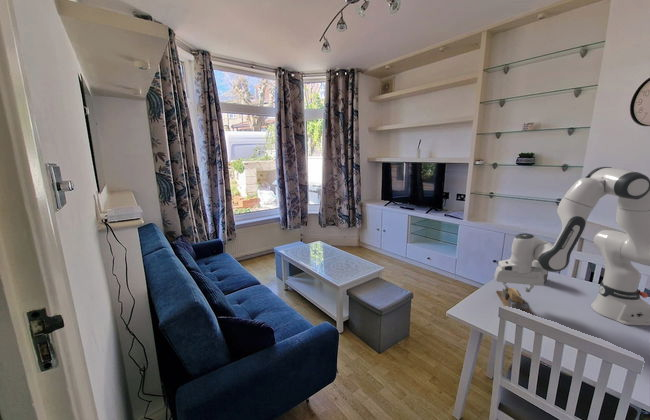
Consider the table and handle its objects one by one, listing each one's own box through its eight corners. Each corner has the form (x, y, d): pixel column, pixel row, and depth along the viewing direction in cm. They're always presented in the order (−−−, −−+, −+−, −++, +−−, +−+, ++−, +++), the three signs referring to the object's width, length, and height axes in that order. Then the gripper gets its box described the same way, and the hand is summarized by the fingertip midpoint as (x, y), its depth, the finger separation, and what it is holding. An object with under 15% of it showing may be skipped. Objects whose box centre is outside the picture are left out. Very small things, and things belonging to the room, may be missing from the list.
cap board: (517, 294, 145) (518, 287, 144) (533, 317, 126) (534, 309, 125) (496, 292, 148) (497, 284, 146) (508, 314, 129) (510, 306, 128)
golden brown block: (513, 296, 141) (514, 288, 140) (521, 309, 131) (523, 300, 130) (506, 296, 142) (508, 287, 141) (514, 308, 132) (516, 299, 131)
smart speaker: (530, 274, 165) (534, 253, 162) (548, 280, 158) (553, 258, 154) (524, 279, 160) (528, 257, 156) (543, 285, 153) (547, 263, 149)
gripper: (542, 264, 132) (538, 289, 135) (495, 261, 138) (492, 284, 141) (548, 270, 126) (544, 296, 129) (498, 266, 132) (495, 291, 136)
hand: (516, 290), depth 135 cm, fingers open, 8 cm apart
